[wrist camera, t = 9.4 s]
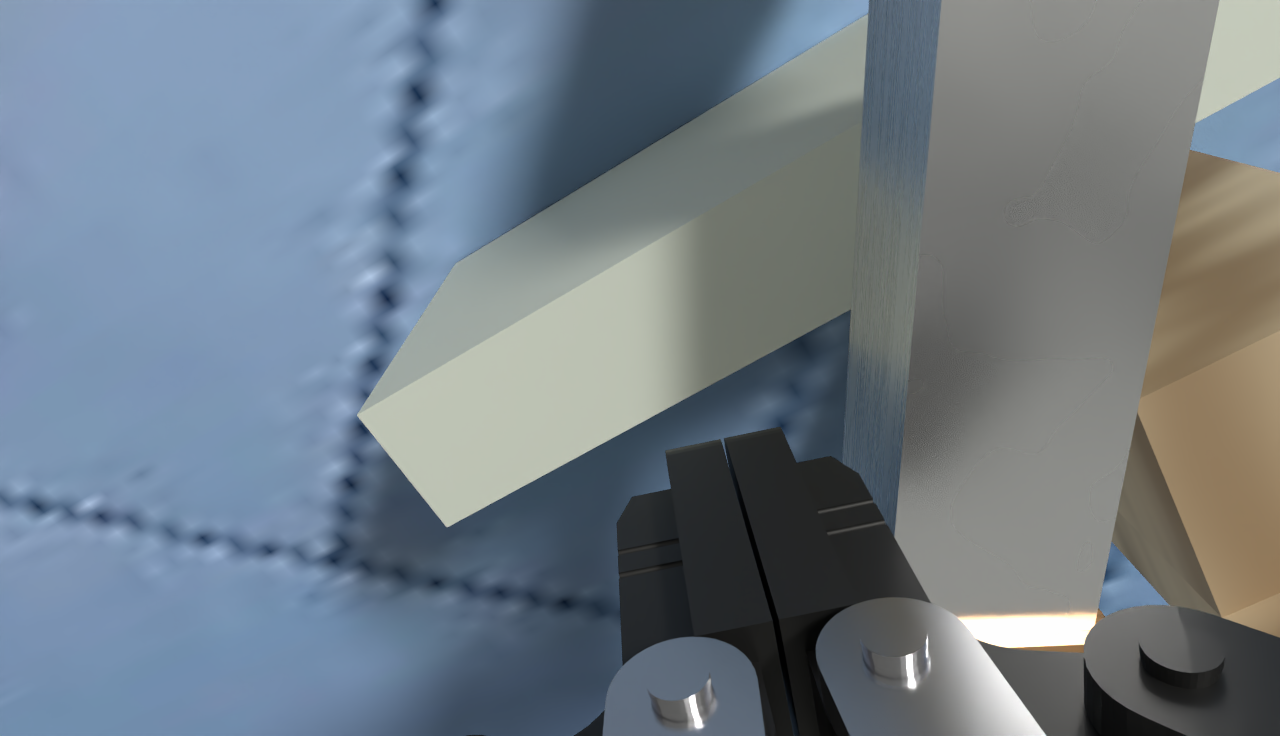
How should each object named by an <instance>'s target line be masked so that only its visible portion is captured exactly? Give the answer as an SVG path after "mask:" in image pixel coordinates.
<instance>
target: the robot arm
mask: <svg viewBox="0 0 1280 736" xmlns="http://www.w3.org/2000/svg"><path fill="white" fill-rule="evenodd" d="M724 442H725V449H726V454H727V460H728V463H727V460H726V456H725V453H724V449H723V446H722V442H721V440H720V439H719V440H714V441H709V442H705V443H700V444H695V445H690V446H685V447H680V448H676V449H671V450H666V451H665V453H666V460H667V466H668V472H669V479H670V485H671V489H668V490H663V491H658V492H654V493H649V494H644V495H639V496H634V497H632V498H631V500H630V501H629V503H628V505H627V506H626V508H625V510H624V512H623V513H622V515H621V517H620V518H619V520H618V522H617V543H618V553H619V556H618V566H619V576H620V579H619V590H620V614H621V637H622V661H623V666H622V668H621V669H620V670H619V671H618V672H617V674H616V675H615V677H614V678H613V680H612V681H611V684H610V686H609V689H608V691H607V696H606V701H605V710H604V711H603V712H602V713H601V715H600V716H599V717H598V718H597V719H595V720H594V721H593V722H592V723H591V724H590V725H589V726H587V727H586V728H585V729H583V730H582V731H580V732H579V733H577V734H576V735H574V736H1280V637H1277V636H1274V635H1271V634H1268V633H1265V632H1262V631H1259V630H1256V629H1253V628H1251V627H1248V626H1245V625H1242V624H1239V623H1236V622H1233V621H1230V620H1227V619H1224V618H1222V617H1219V616H1216V615H1213V614H1209V613H1206V612H1202V611H1199V610H1195V609H1190V608H1184V607H1178V606H1167V605H1147V606H1138V607H1132V608H1127V609H1123V610H1120V611H1117V612H1115V613H1112V614H1110V615H1108V616H1106V617H1105V618H1103V619H1101V620H1100V621H1098V622H1097V623H1096V624H1095V625H1094V626H1093V627H1092V628H1091V630H1090V631H1089V633H1088V635H1087V636H1086V639H1085V643H1084V653H1078V652H1057V651H1036V650H1022V649H1012V648H1007V647H1002V646H997V645H993V644H990V643H987V642H983V641H981V640H978V639H976V638H975V636H974V635H973V634H972V632H971V631H970V630H969V628H968V627H967V626H966V625H965V624H964V623H963V622H962V621H961V620H960V619H959V618H957V617H956V616H955V615H954V614H952V613H950V612H949V611H947V610H945V609H943V608H941V607H939V606H937V605H934V604H932V603H931V602H930V600H929V598H928V597H927V595H926V593H925V591H924V589H923V588H922V586H921V584H920V582H919V581H918V579H917V577H916V575H915V573H914V572H913V570H912V568H911V566H910V564H909V563H908V561H907V559H906V557H905V555H904V554H903V552H902V550H901V548H900V546H899V545H898V543H897V541H896V539H895V537H894V536H893V534H892V532H891V530H890V528H889V527H888V525H887V524H885V521H884V518H883V516H882V514H881V512H880V511H879V509H878V507H877V505H876V503H874V502H873V498H872V496H871V494H870V493H869V491H868V489H867V487H866V485H865V484H864V482H863V480H862V478H861V476H860V475H859V473H857V472H855V471H854V470H852V469H851V468H849V467H847V466H846V465H844V464H843V463H841V462H839V461H838V460H836V459H835V458H833V457H831V456H828V457H823V458H818V459H814V460H809V461H804V462H799V463H796V461H795V458H794V456H793V454H792V451H791V449H790V447H789V445H788V442H787V440H786V438H785V435H784V433H783V431H782V429H781V427H776V428H771V429H767V430H762V431H757V432H752V433H747V434H743V435H738V436H733V437H728V438H724ZM728 465H729V467H728ZM468 736H484V735H468Z"/></svg>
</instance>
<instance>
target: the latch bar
mask: <svg viewBox="0 0 1280 736" xmlns="http://www.w3.org/2000/svg"><path fill="white" fill-rule="evenodd" d="M1219 1H1220V0H869V10H868V28H867V45H866V62H865V79H864V96H863V113H862V130H861V147H860V164H859V181H858V198H857V215H856V233H855V250H854V267H853V284H852V301H851V318H850V335H849V352H848V369H847V386H846V403H845V420H844V438H843V455H842V463H843V464H844V465H846V466H847V467H849V468H851V469H852V470H854V471H855V472H857V473H859V475H860V476H861V478H862V480H863V482H864V484H865V485H866V487H867V489H868V491H869V493H870V494H871V496H872V498H873V502H874V503H876V505H877V507H878V509H879V511H880V512H881V514H882V516H883V518H884V521H885V524H887V525H888V527H889V528H890V530H891V532H892V534H893V536H894V537H895V539H896V541H897V543H898V545H899V546H900V548H901V550H902V552H903V554H904V555H905V557H906V559H907V561H908V563H909V564H910V566H911V568H912V570H913V572H914V573H915V575H916V577H917V579H918V581H919V582H920V584H921V586H922V588H923V589H924V591H925V593H926V595H927V597H928V598H929V600H930V602H931V603H932V604H934V605H937V606H939V607H941V608H943V609H945V610H947V611H949V612H950V613H952V614H954V615H955V616H956V617H957V618H959V619H960V620H961V621H962V622H963V623H964V624H965V625H966V626H967V627H968V628H969V630H970V631H971V632H972V634H973V635H974V636H975V638H976V639H978V640H981V641H983V642H987V643H990V644H993V645H997V646H1002V647H1007V648H1012V649H1022V650H1036V651H1057V652H1078V653H1084V643H1085V639H1086V636H1087V635H1088V633H1089V631H1090V630H1091V628H1092V627H1093V626H1094V625H1095V624H1096V623H1097V622H1098V621H1100V620H1101V619H1103V618H1105V616H1104V615H1103V613H1102V612H1101V611H1100V610H1099V608H1098V606H1099V601H1100V596H1101V591H1102V586H1103V581H1104V576H1105V571H1106V566H1107V561H1108V556H1109V551H1110V546H1111V541H1112V536H1113V531H1114V526H1115V521H1116V516H1117V511H1118V506H1119V501H1120V496H1121V491H1122V486H1123V481H1124V476H1125V471H1126V466H1127V461H1128V456H1129V451H1130V446H1131V441H1132V436H1133V431H1134V426H1135V421H1136V416H1137V411H1138V406H1139V401H1140V396H1141V391H1142V386H1143V381H1144V376H1145V371H1146V366H1147V361H1148V356H1149V351H1150V346H1151V341H1152V336H1153V331H1154V326H1155V321H1156V316H1157V311H1158V306H1159V301H1160V296H1161V291H1162V286H1163V281H1164V276H1165V271H1166V266H1167V261H1168V256H1169V251H1170V246H1171V241H1172V236H1173V231H1174V226H1175V221H1176V216H1177V211H1178V206H1179V201H1180V196H1181V191H1182V186H1183V181H1184V176H1185V171H1186V166H1187V161H1188V156H1189V151H1190V146H1191V141H1192V136H1193V131H1194V126H1195V121H1196V116H1197V111H1198V106H1199V101H1200V96H1201V91H1202V86H1203V81H1204V76H1205V71H1206V66H1207V61H1208V56H1209V51H1210V46H1211V41H1212V36H1213V31H1214V26H1215V21H1216V16H1217V11H1218V6H1219Z"/></svg>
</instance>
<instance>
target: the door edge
mask: <svg viewBox="0 0 1280 736" xmlns="http://www.w3.org/2000/svg"><path fill="white" fill-rule="evenodd" d="M867 28H868V14H867V15H865V16H863V17H862V18H860V19H858V20H857V21H855V22H853V23H852V24H850V25H848V26H847V27H845V28H843V29H842V30H840V31H838V32H837V33H835V34H834V35H832V36H830V37H829V38H827V39H825V40H824V41H822V42H820V43H819V44H817V45H815V46H814V47H812V48H810V49H809V50H807V51H805V52H804V53H802V54H800V55H799V56H797V57H796V58H794V59H792V60H791V61H789V62H787V63H786V64H784V65H782V66H781V67H779V68H777V69H776V70H774V71H772V72H771V73H769V74H767V75H766V76H764V77H763V78H761V79H759V80H758V81H756V82H754V83H753V84H751V85H749V86H748V87H746V88H744V89H743V90H741V91H739V92H738V93H736V94H734V95H733V96H731V97H730V98H728V99H726V100H725V101H723V102H721V103H720V104H718V105H716V106H715V107H713V108H711V109H710V110H708V111H706V112H705V113H703V114H701V115H700V116H698V117H697V118H695V119H693V120H692V121H690V122H688V123H687V124H685V125H683V126H682V127H680V128H678V129H677V130H675V131H673V132H672V133H670V134H668V135H667V136H665V137H664V138H662V139H660V140H659V141H657V142H655V143H654V144H652V145H650V146H649V147H647V148H645V149H644V150H642V151H640V152H639V153H637V154H635V155H634V156H632V157H631V158H629V159H627V160H626V161H624V162H622V163H621V164H619V165H617V166H616V167H614V168H612V169H611V170H609V171H607V172H606V173H604V174H602V175H601V176H599V177H598V178H596V179H594V180H593V181H591V182H589V183H588V184H586V185H584V186H583V187H581V188H579V189H578V190H576V191H574V192H573V193H571V194H569V195H568V196H566V197H565V198H563V199H561V200H560V201H558V202H556V203H555V204H553V205H551V206H550V207H548V208H546V209H545V210H543V211H541V212H540V213H538V214H536V215H535V216H533V217H532V218H530V219H528V220H527V221H525V222H523V223H522V224H520V225H518V226H517V227H515V228H513V229H512V230H510V231H508V232H507V233H505V234H503V235H502V236H500V237H499V238H497V239H495V240H494V241H492V242H490V243H489V244H487V245H485V246H484V247H482V248H480V249H479V250H477V251H475V252H474V253H472V254H470V255H469V256H467V257H466V258H464V259H462V260H461V261H459V262H457V263H456V264H455V265H454V267H453V268H452V270H451V271H450V273H449V274H448V276H447V277H446V279H445V280H444V282H443V284H442V285H441V287H440V288H439V290H438V291H437V293H436V294H435V296H434V297H433V299H432V300H431V302H430V304H429V305H428V307H427V308H426V310H425V311H424V313H423V314H422V316H421V317H420V319H419V320H418V322H417V324H416V325H415V327H414V328H413V330H412V331H411V333H410V334H409V336H408V337H407V339H406V340H405V342H404V344H403V345H402V347H401V348H400V350H399V351H398V353H397V354H396V356H395V357H394V359H393V360H392V362H391V363H390V365H389V367H388V368H387V370H386V371H385V373H384V374H383V376H382V377H381V379H380V380H379V382H378V383H377V385H376V387H375V388H374V390H373V391H372V393H371V394H370V396H369V397H368V399H367V400H366V402H365V403H364V405H363V407H362V408H361V410H360V411H359V413H358V414H357V416H358V417H359V418H360V420H361V421H362V422H363V423H364V425H365V426H366V427H367V428H368V430H369V431H370V432H371V433H372V435H373V436H374V437H375V438H376V440H377V441H378V442H379V443H380V445H381V446H382V447H383V448H384V450H385V451H386V452H387V453H388V455H389V456H390V457H391V458H392V460H393V461H394V462H395V463H396V465H397V466H398V467H399V468H400V470H401V471H402V472H403V473H404V475H405V476H406V477H407V478H408V480H409V481H410V482H411V483H412V485H413V486H414V487H415V488H416V490H417V491H418V492H419V493H420V495H421V496H422V497H423V498H424V500H425V501H426V502H427V503H428V505H429V506H430V507H431V508H432V510H433V511H434V512H435V513H436V515H437V516H438V517H439V518H440V520H441V521H442V522H443V523H444V525H445V526H446V527H449V526H451V525H453V524H455V523H456V522H458V521H460V520H462V519H464V518H466V517H468V516H469V515H471V514H473V513H475V512H477V511H479V510H480V509H482V508H484V507H486V506H488V505H490V504H492V503H493V502H495V501H497V500H499V499H501V498H503V497H505V496H506V495H508V494H510V493H512V492H514V491H516V490H517V489H519V488H521V487H523V486H525V485H527V484H529V483H530V482H532V481H534V480H536V479H538V478H540V477H542V476H543V475H545V474H547V473H549V472H551V471H553V470H554V469H556V468H558V467H560V466H562V465H564V464H566V463H567V462H569V461H571V460H573V459H575V458H577V457H579V456H580V455H582V454H584V453H586V452H588V451H590V450H591V449H593V448H595V447H597V446H599V445H601V444H603V443H604V442H606V441H608V440H610V439H612V438H614V437H616V436H617V435H619V434H621V433H623V432H625V431H627V430H628V429H630V428H632V427H634V426H636V425H638V424H640V423H641V422H643V421H645V420H647V419H649V418H651V417H653V416H654V415H656V414H658V413H660V412H662V411H664V410H665V409H667V408H669V407H671V406H673V405H675V404H677V403H678V402H680V401H682V400H684V399H686V398H688V397H690V396H691V395H693V394H695V393H697V392H699V391H701V390H702V389H704V388H706V387H708V386H710V385H712V384H714V383H715V382H717V381H719V380H721V379H723V378H725V377H727V376H728V375H730V374H732V373H734V372H736V371H738V370H739V369H741V368H743V367H745V366H747V365H749V364H751V363H752V362H754V361H756V360H758V359H760V358H762V357H764V356H765V355H767V354H769V353H771V352H773V351H775V350H776V349H778V348H780V347H782V346H784V345H786V344H788V343H789V342H791V341H793V340H795V339H797V338H799V337H801V336H802V335H804V334H806V333H808V332H810V331H812V330H814V329H815V328H817V327H819V326H821V325H823V324H825V323H826V322H828V321H830V320H832V319H834V318H836V317H838V316H839V315H841V314H843V313H845V312H847V311H849V310H851V301H852V284H853V267H854V250H855V233H856V215H857V198H858V181H859V164H860V147H861V130H862V113H863V96H864V79H865V62H866V45H867ZM1278 78H1280V0H1220V1H1219V6H1218V11H1217V16H1216V21H1215V26H1214V31H1213V36H1212V41H1211V46H1210V51H1209V56H1208V61H1207V66H1206V71H1205V76H1204V81H1203V86H1202V91H1201V96H1200V101H1199V106H1198V111H1197V116H1196V121H1195V123H1197V122H1198V121H1200V120H1202V119H1204V118H1206V117H1208V116H1209V115H1211V114H1213V113H1215V112H1217V111H1219V110H1221V109H1222V108H1224V107H1226V106H1228V105H1230V104H1232V103H1234V102H1235V101H1237V100H1239V99H1241V98H1243V97H1245V96H1246V95H1248V94H1250V93H1252V92H1254V91H1256V90H1258V89H1259V88H1261V87H1263V86H1265V85H1267V84H1269V83H1271V82H1272V81H1274V80H1276V79H1278Z"/></svg>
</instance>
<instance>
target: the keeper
mask: <svg viewBox="0 0 1280 736" xmlns="http://www.w3.org/2000/svg"><path fill="white" fill-rule="evenodd" d="M1112 542H1113V543H1114V544H1115V546H1116V547H1117V548H1118V549H1119V550H1120V551H1121V552H1122V553H1123V554H1124V555H1125V557H1126V558H1127V559H1128V560H1129V561H1130V562H1131V563H1132V564H1133V565H1134V566H1135V568H1136V569H1137V570H1138V571H1139V572H1140V573H1141V574H1142V575H1143V576H1144V577H1145V579H1146V580H1147V581H1148V582H1149V583H1150V584H1151V585H1152V586H1153V587H1154V589H1155V590H1156V591H1157V592H1158V593H1159V594H1160V595H1161V596H1162V597H1163V598H1164V600H1165V601H1166V602H1167V603H1168V604H1169V605H1170V606H1178V607H1184V608H1190V609H1195V610H1199V611H1202V612H1206V613H1209V614H1213V615H1216V616H1219V617H1222V618H1224V619H1227V620H1230V621H1233V622H1236V623H1239V624H1242V625H1245V626H1248V627H1251V628H1253V629H1256V630H1259V631H1262V632H1265V633H1268V634H1271V635H1274V636H1277V637H1280V173H1278V172H1274V171H1270V170H1266V169H1262V168H1258V167H1255V166H1251V165H1247V164H1243V163H1239V162H1235V161H1231V160H1227V159H1223V158H1220V157H1216V156H1212V155H1208V154H1204V153H1200V152H1196V151H1192V150H1190V151H1189V156H1188V161H1187V166H1186V171H1185V176H1184V181H1183V186H1182V191H1181V196H1180V201H1179V206H1178V211H1177V216H1176V221H1175V226H1174V231H1173V236H1172V241H1171V246H1170V251H1169V256H1168V261H1167V266H1166V271H1165V276H1164V281H1163V286H1162V291H1161V296H1160V301H1159V306H1158V311H1157V316H1156V321H1155V326H1154V331H1153V336H1152V341H1151V346H1150V351H1149V356H1148V361H1147V366H1146V371H1145V376H1144V381H1143V386H1142V391H1141V396H1140V401H1139V406H1138V411H1137V416H1136V421H1135V426H1134V431H1133V436H1132V441H1131V446H1130V451H1129V456H1128V461H1127V466H1126V471H1125V476H1124V481H1123V486H1122V491H1121V496H1120V501H1119V506H1118V511H1117V516H1116V521H1115V526H1114V531H1113V536H1112Z"/></svg>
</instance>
